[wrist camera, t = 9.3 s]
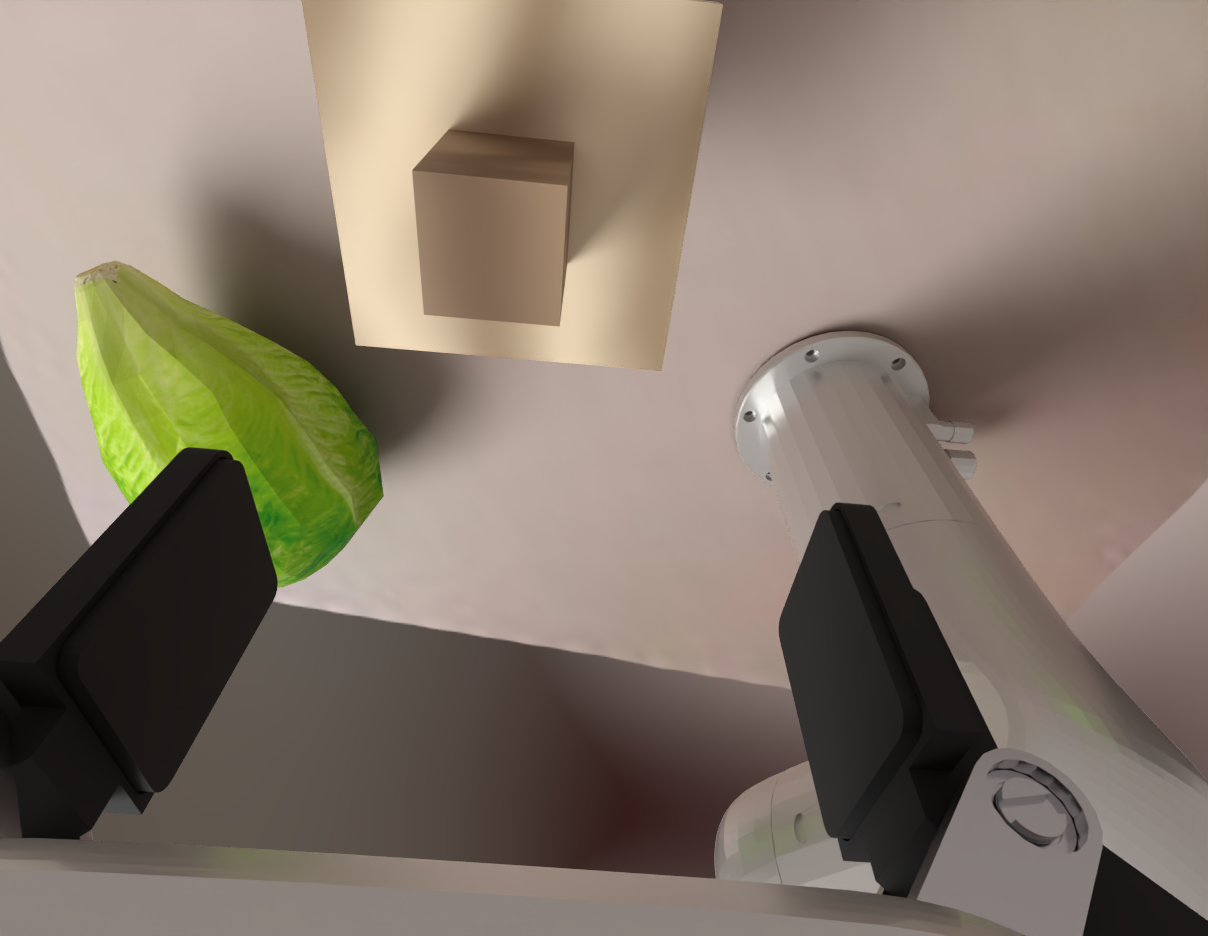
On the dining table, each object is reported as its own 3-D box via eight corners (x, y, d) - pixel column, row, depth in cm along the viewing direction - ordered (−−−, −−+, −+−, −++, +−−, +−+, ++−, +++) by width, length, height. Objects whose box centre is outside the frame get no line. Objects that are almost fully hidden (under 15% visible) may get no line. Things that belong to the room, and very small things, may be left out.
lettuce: (273, 191, 35) (153, 277, 26) (433, 471, 47) (390, 599, 38) (64, 260, 38) (-115, 362, 28) (266, 510, 50) (187, 639, 40)
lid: (717, 2, 20) (754, 17, 15) (659, 356, 27) (671, 444, 22) (309, -46, 19) (207, -47, 14) (364, 331, 26) (310, 416, 21)
